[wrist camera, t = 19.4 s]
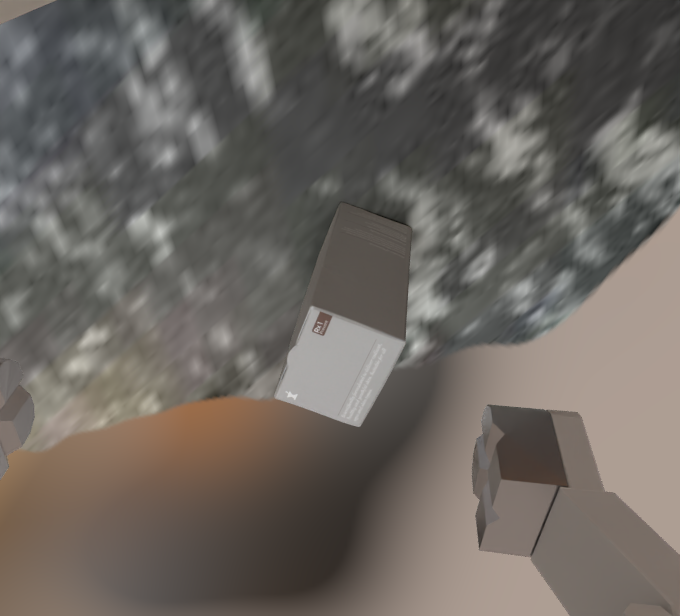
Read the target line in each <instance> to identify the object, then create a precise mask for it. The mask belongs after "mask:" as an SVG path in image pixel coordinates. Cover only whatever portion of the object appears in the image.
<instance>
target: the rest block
mask: <svg viewBox="0 0 680 616" xmlns="http://www.w3.org/2000/svg"><path fill="white" fill-rule="evenodd" d="M53 1H56V0H0V24H2V23H4V22H7V21H9V20H11V19H14V18H16V17H18V16H21V15H23V14H25V13H28V12H30V11H32V10H35V9H37V8H39V7H42V6H44V5H46V4H49V3H51V2H53Z"/></svg>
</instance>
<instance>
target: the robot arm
mask: <svg viewBox="0 0 680 616" xmlns="http://www.w3.org/2000/svg"><path fill="white" fill-rule="evenodd" d="M23 377H24V374H23V372H22V369H21V367H20V364H19V362H17V361H14V360H11V359H5V358H0V479H1V478H2V476H3V475H4V474H5V472H6V470H7V469H8V467H9V464H8V459H7V455H9V454H10V453H12V452H14V451H15V450H17V449H19V448H20V447H22V446H23V444H24V443H25V441H26V439H27V438H28V436H29V434H30V432H31V428H32V425H33V421H34V418H35V416H34V403H33V400H32V397H31V395H30V394H29V393H28V392H27V391H26V390H25V389H24V388H22V387H21V386H20V385H19V384H20V382H21V381H22V379H23ZM481 423H482V431H483V434H482V435H481V436H480V437H478V438H477V439H476V444H475V448H474V453H473V463H472V484H473V493H474V494H475V495H476V496H477V498H478V499H479V500H480V501H479V504H478V508H477V511H476V524H477V534H478V543H479V550H480V551H488V552H496V553H503V554H511V555H518V556H525V557H531V561H532V562H533V564H534V565H535V567H536V568H537V570H538V571H539V572H540V574H541V575H542V577H543V578H544V580H545V581H546V582H547V584H548V585H549V587H550V588H551V590H552V591H553V592H554V594H555V595H556V596H557V598H558V600H559V601H560V602H561V604H562V605H563V607H564V608H565V609H566V611H567V612H568V614H569V615H570V616H680V555H679V554H678V553H677V552H676V551H675V550H674V549H673V548H672V547H671V546H670V545H668V543H667V542H665V541H664V540H663V539H662V538H661V537H660V536H659V535H658V534H657V533H656V532H655V531H654V530H653V529H652V528H651V527H650V526H649V525H647V523H646V522H644V521H643V520H642V519H641V518H640V517H639V516H638V515H637V514H636V513H635V512H634V511H633V510H632V509H631V508H630V507H629V506H628V505H626V503H624V502H623V501H622V500H621V499H620V498H619V497H618V496H617V495H616V494H615V493H612V492H605V490H604V487H603V484H602V481H601V478H600V474H599V471H598V468H597V465H596V462H595V458H594V455H593V452H592V449H591V445H590V443H589V439H588V436H587V433H586V430H585V427H584V423H583V420H582V417H581V416H580V415H579V414H578V412H568V411H557V410H543V409H532V408H520V407H509V406H497V405H487V406H486V408H485V409H484V412H483V416H482V420H481Z"/></svg>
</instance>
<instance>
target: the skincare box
mask: <svg viewBox="0 0 680 616" xmlns="http://www.w3.org/2000/svg"><path fill="white" fill-rule="evenodd" d="M411 236H412V229H411V228H410V227H408V226H406V225H403V224H400V223H397V222H394V221H392V220H389V219H386V218H384V217H381V216H378V215H376V214H373V213H370V212H368V211H365V210H363V209H360V208H357V207H354V206H352V205H349V204H346V203H343V202H341V203H340V204H339V206H338V209H337V211H336V213H335V216H334V218H333V221H332V223H331V225H330V228H329V230H328V233H327V235H326V238H325V240H324V243H323V245H322V248H321V250H320V253H319V256H318V259H317V262H316V265H315V268H314V271H313V274H312V277H311V280H310V283H309V286H308V288H307V291H306V294H305V297H304V301H303V304H302V307H301V310H300V313H299V317H298V320H297V323H296V326H295V329H294V333H293V336H292V339H291V342H290V345H289V348H288V352H287V355H286V358H285V361H284V364H283V368H282V371H281V374H280V378H279V381H278V385H277V388H276V391H275V398H276V399H278V400H282V401H285V402H288V403H291V404H294V405H297V406H300V407H302V408H306V409H309V410H311V411H314V412H317V413H319V414H322V415H325V416H327V417H330V418H333V419H336V420H338V421H341V422H344V423H347V424H350V425H354V426H357V427H360V426H361V425H362V423H363V421H364V419H365V418H366V416H367V414H368V412H369V411H370V409H371V407H372V405H373V404H374V402H375V400H376V398H377V396H378V395H379V393H380V391H381V389H382V388H383V386H384V384H385V382H386V380H387V378H388V376H389V375H390V373H391V371H392V369H393V367H394V365H395V363H396V362H397V360H398V358H399V356H400V354H401V352H402V350H403V348H404V346H405V344H406V340H405V339H406V317H407V301H408V284H409V266H410V251H411Z"/></svg>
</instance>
